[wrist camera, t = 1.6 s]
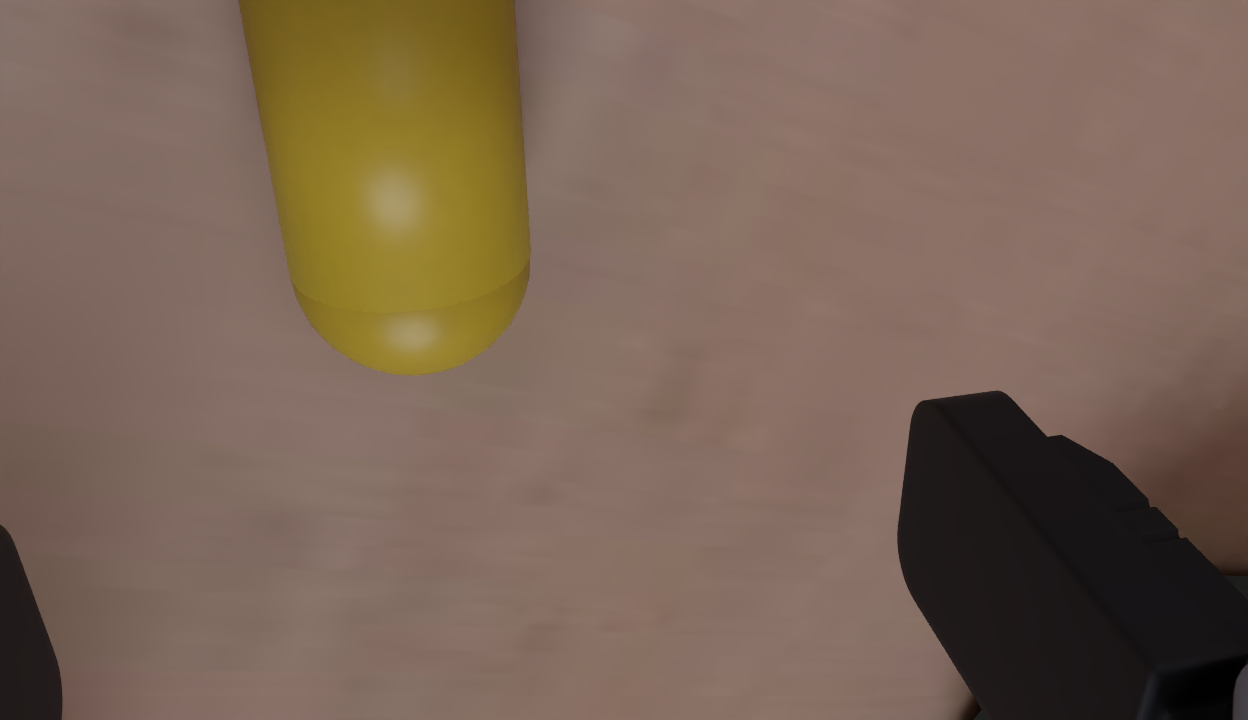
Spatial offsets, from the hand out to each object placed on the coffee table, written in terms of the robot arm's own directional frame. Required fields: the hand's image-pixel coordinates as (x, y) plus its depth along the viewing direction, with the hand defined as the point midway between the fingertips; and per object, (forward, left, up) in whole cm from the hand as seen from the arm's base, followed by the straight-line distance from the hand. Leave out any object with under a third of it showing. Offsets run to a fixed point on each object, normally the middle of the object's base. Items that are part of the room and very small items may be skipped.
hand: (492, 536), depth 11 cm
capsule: (0, 0, -15) cm, 15 cm away
